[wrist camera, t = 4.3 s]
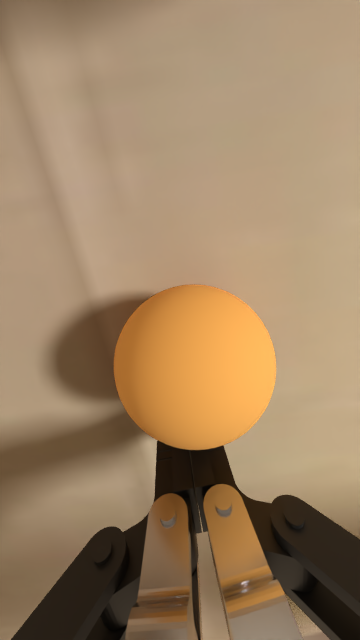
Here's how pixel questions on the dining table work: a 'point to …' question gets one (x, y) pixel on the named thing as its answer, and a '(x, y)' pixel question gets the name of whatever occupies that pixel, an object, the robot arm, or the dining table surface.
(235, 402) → the ball
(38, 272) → the dining table surface
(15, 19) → the dining table surface
